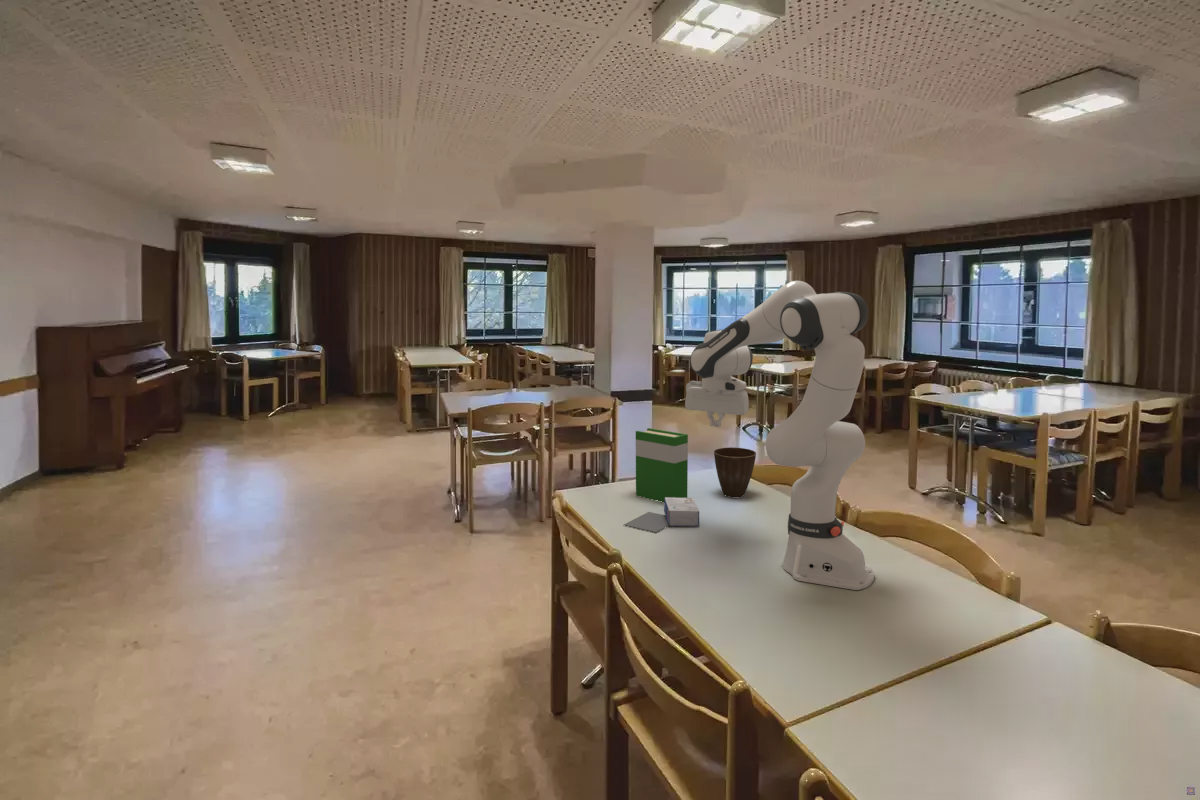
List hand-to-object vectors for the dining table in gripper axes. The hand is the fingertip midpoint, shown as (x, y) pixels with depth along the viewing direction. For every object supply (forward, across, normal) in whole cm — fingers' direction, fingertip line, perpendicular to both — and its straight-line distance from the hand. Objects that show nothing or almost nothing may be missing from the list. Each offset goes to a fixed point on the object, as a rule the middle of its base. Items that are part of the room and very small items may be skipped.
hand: (715, 426), depth 200 cm
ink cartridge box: (+28, -5, -10) cm, 31 cm away
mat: (+31, -16, -12) cm, 37 cm away
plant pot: (+32, -6, +30) cm, 44 cm away
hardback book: (+32, -26, +12) cm, 43 cm away
